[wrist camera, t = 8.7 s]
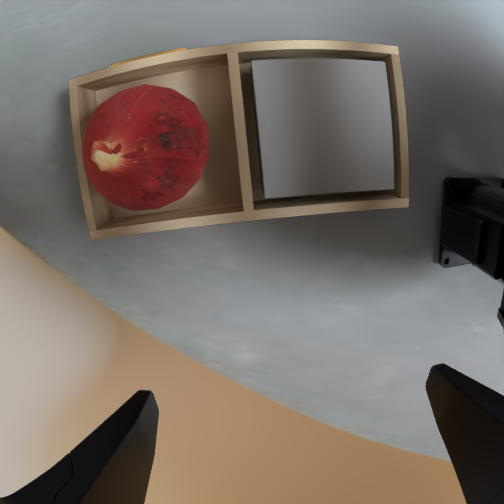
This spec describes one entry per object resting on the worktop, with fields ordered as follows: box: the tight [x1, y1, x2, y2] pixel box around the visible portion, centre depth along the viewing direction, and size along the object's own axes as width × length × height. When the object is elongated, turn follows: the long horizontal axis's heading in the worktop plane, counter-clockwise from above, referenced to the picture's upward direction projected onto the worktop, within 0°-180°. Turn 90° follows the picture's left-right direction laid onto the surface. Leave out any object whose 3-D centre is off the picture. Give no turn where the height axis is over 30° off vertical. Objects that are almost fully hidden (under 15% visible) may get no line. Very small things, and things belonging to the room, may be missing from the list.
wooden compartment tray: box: [69, 40, 409, 240], centre depth 16 cm, size 18×9×3 cm, turn 96°
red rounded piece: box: [81, 84, 210, 211], centre depth 13 cm, size 6×6×8 cm
